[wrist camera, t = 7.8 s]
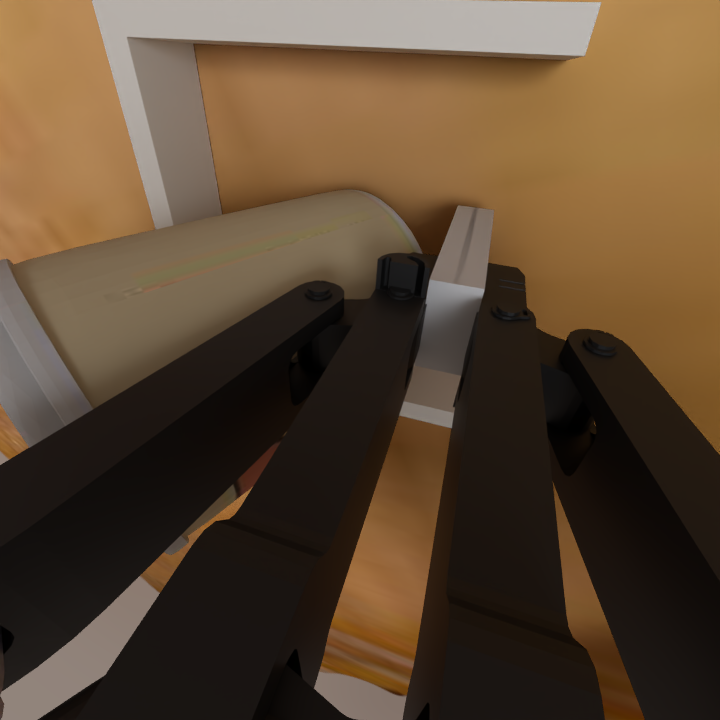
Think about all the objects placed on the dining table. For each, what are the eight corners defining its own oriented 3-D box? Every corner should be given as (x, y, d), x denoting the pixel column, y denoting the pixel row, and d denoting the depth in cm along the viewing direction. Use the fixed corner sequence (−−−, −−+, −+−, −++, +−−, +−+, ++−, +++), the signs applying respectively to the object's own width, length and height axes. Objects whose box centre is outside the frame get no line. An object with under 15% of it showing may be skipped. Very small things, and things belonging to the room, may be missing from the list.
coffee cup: (360, 380, 22) (144, 523, 16) (281, 224, 20) (9, 317, 14) (494, 363, 14) (157, 642, 8) (378, 104, 12) (-147, 203, 6)
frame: (472, 386, 21) (467, 432, 18) (228, 332, 24) (193, 365, 21) (579, 18, 12) (601, 2, 9) (165, 9, 15) (90, -6, 12)
